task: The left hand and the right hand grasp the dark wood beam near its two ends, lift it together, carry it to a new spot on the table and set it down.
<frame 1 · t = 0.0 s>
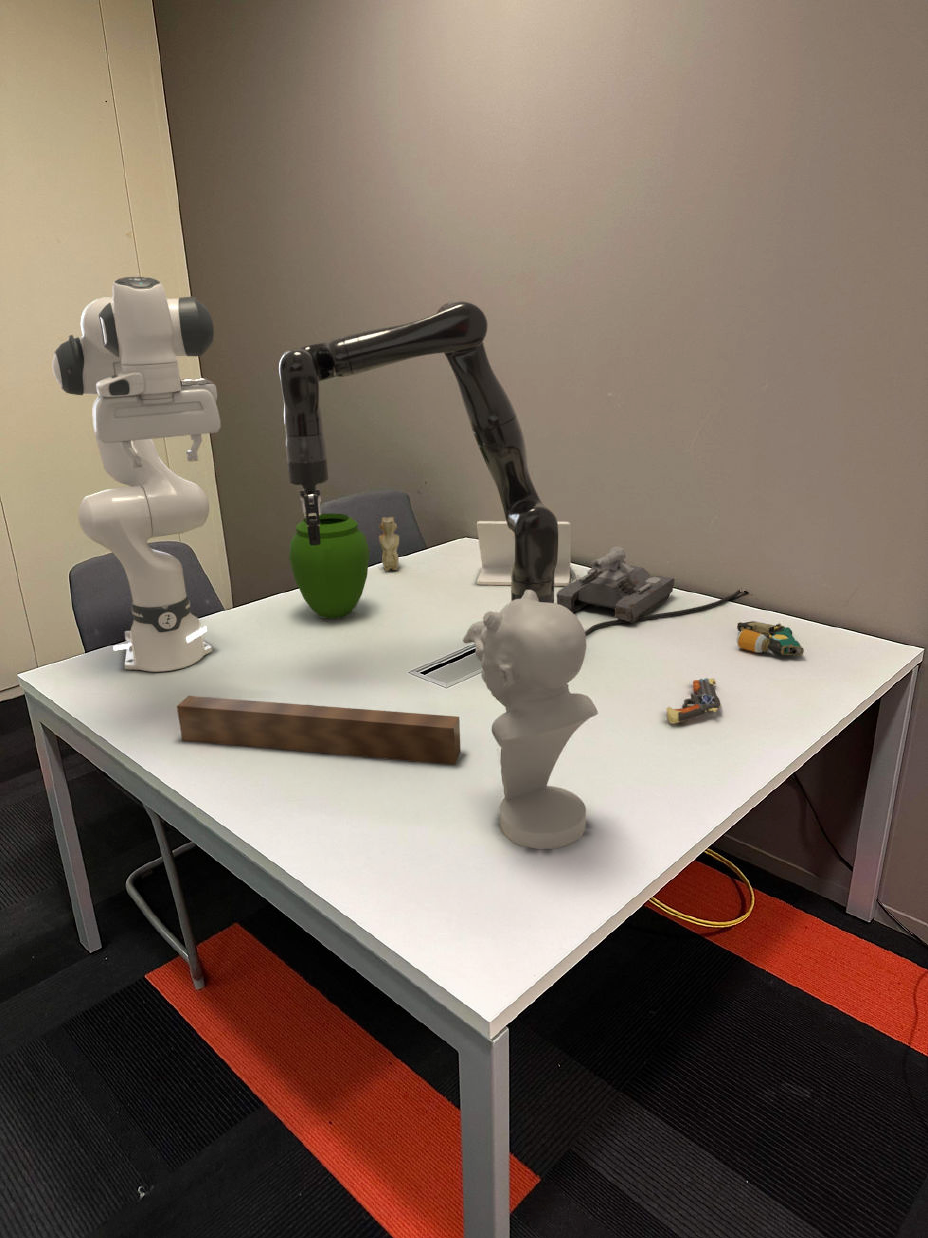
left hand: (165, 463, 147), 48 cm above the table, tool pointing down, fingers open, 8 cm apart
right hand: (314, 539, 170), 29 cm above the table, tool pointing down, fingers open, 8 cm apart
spray gun: (768, 644, 188), on the table
sculpture: (390, 569, 248), on the table
tablet stand: (525, 575, 239), on the table
beam: (318, 746, 151), on the table
bust sculpture: (521, 816, 129), on the table
toy: (615, 605, 214), on the table
vase: (334, 614, 214), on the table
toy gun: (692, 705, 162), on the table
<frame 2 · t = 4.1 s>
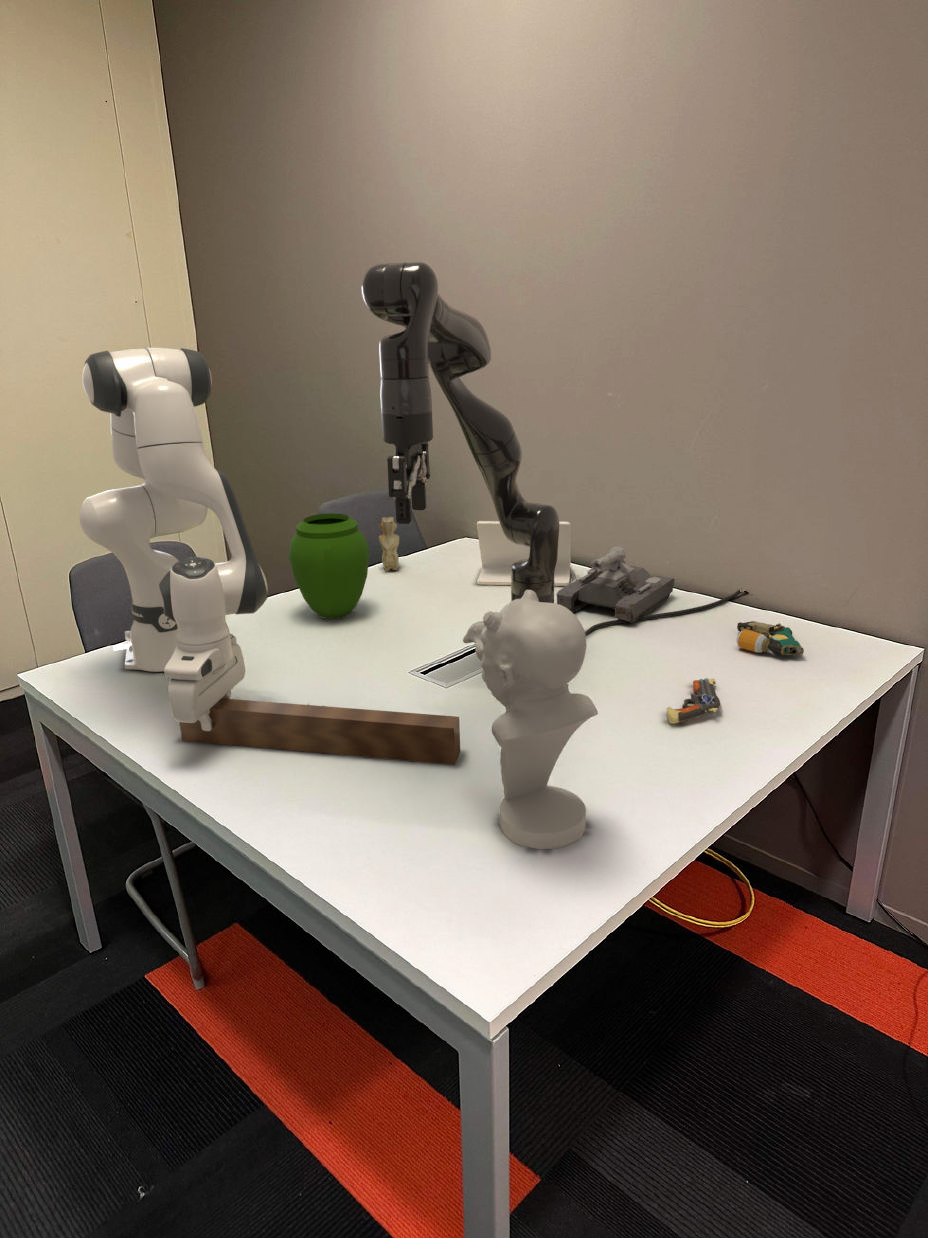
left hand: (216, 722, 154), 3 cm above the table, tool pointing down, fingers closed on beam, 4 cm apart
right hand: (411, 516, 132), 42 cm above the table, tool pointing down, fingers open, 8 cm apart
beam: (318, 746, 151), on the table, touching left hand
everything else where it was.
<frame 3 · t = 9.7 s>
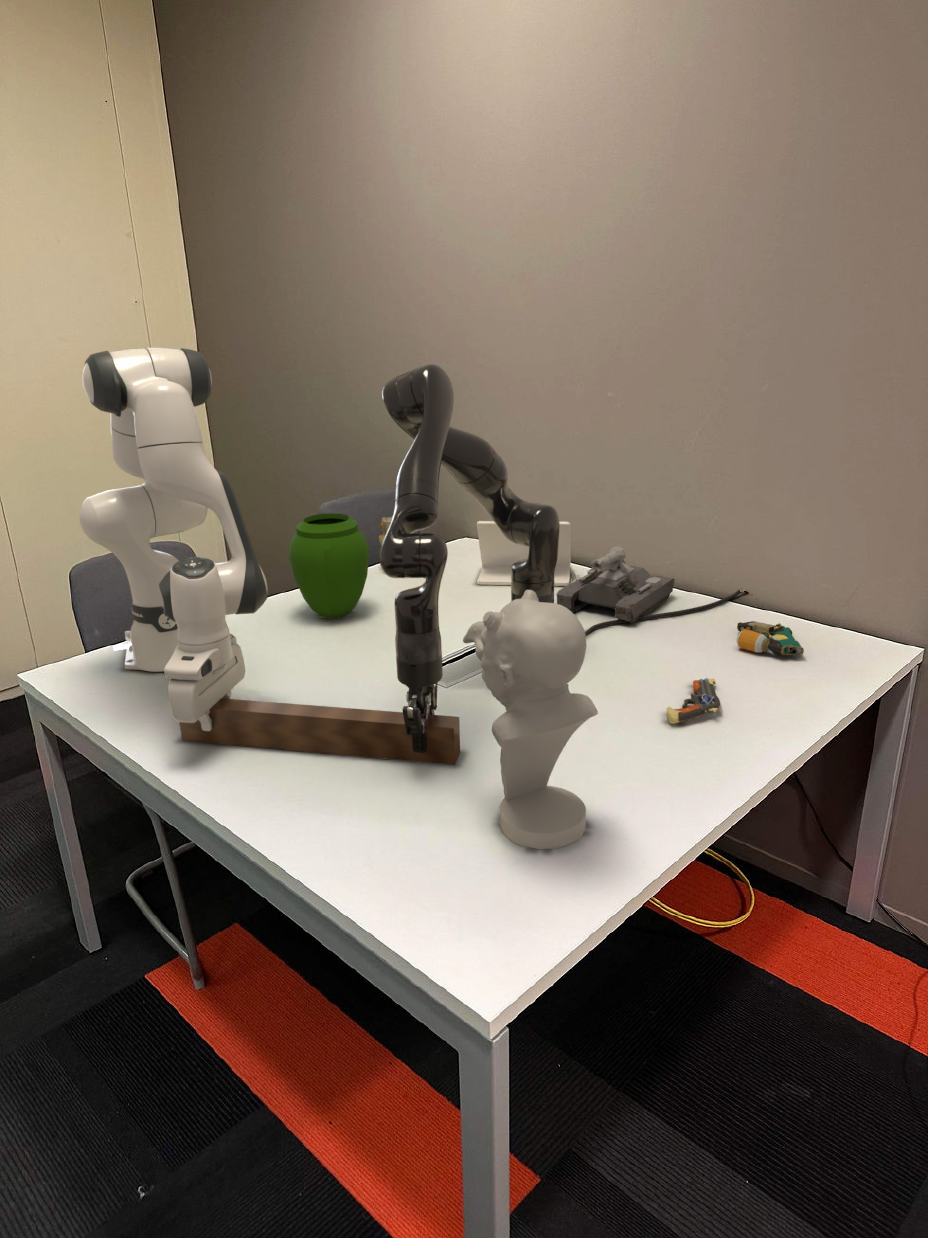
left hand: (216, 722, 154), 3 cm above the table, tool pointing down, fingers closed on beam, 4 cm apart
right hand: (423, 744, 146), 2 cm above the table, tool pointing down, fingers closed on beam, 4 cm apart
beam: (318, 746, 151), on the table, touching right hand, left hand
everything else where it was.
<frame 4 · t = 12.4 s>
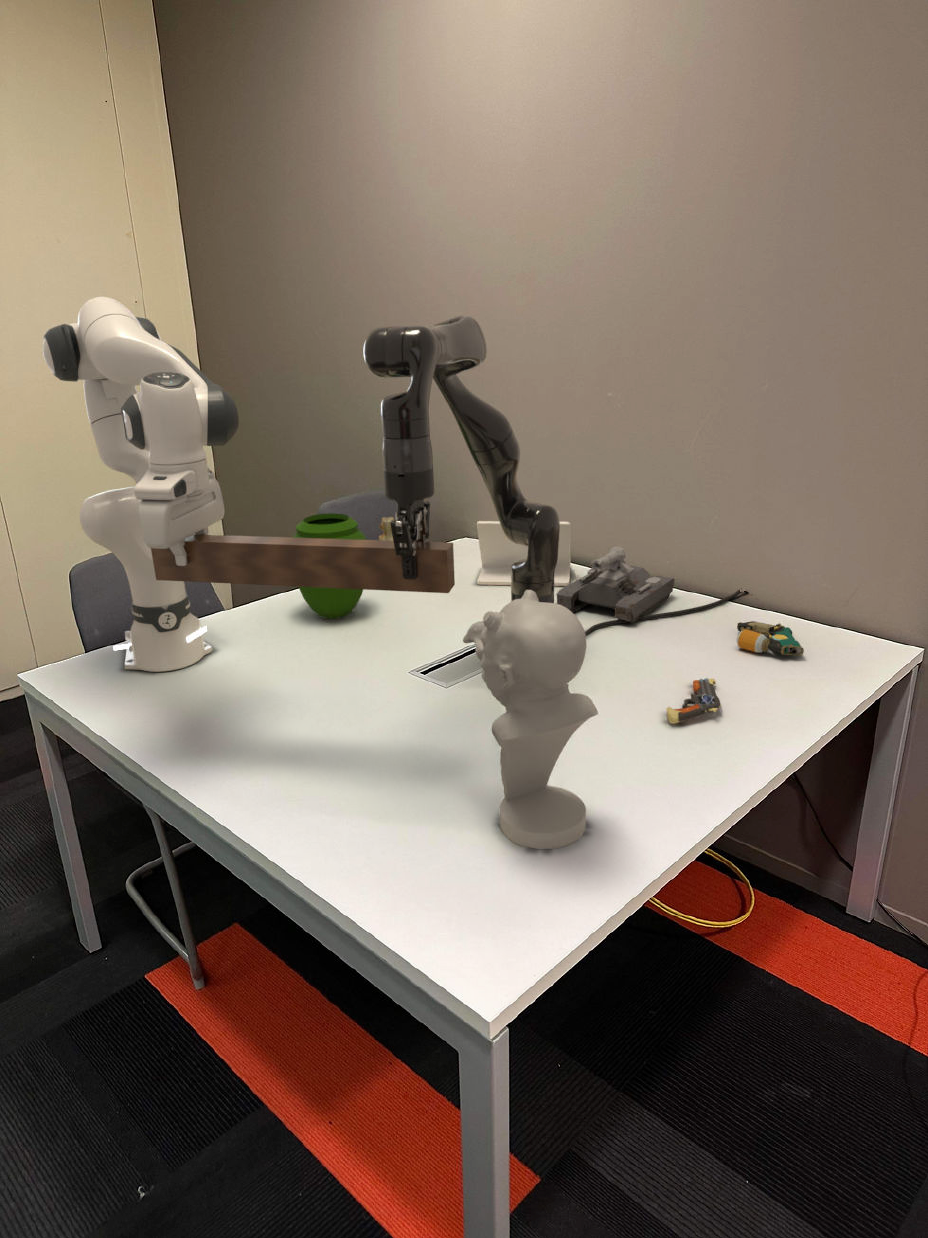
left hand: (192, 559, 143), 34 cm above the table, tool pointing down, fingers closed on beam, 4 cm apart
right hand: (414, 573, 135), 33 cm above the table, tool pointing down, fingers closed on beam, 4 cm apart
beam: (301, 582, 140), point 30 cm above the table, touching right hand, left hand
everything else where it was.
when the left hand's fingers open (5 cm above the table, at t = 20.6 s): beam drops 1 cm, on the table.
when the right hand's fingers open (4 cm above the table, at t = 20.6 s): beam drops 1 cm, on the table.
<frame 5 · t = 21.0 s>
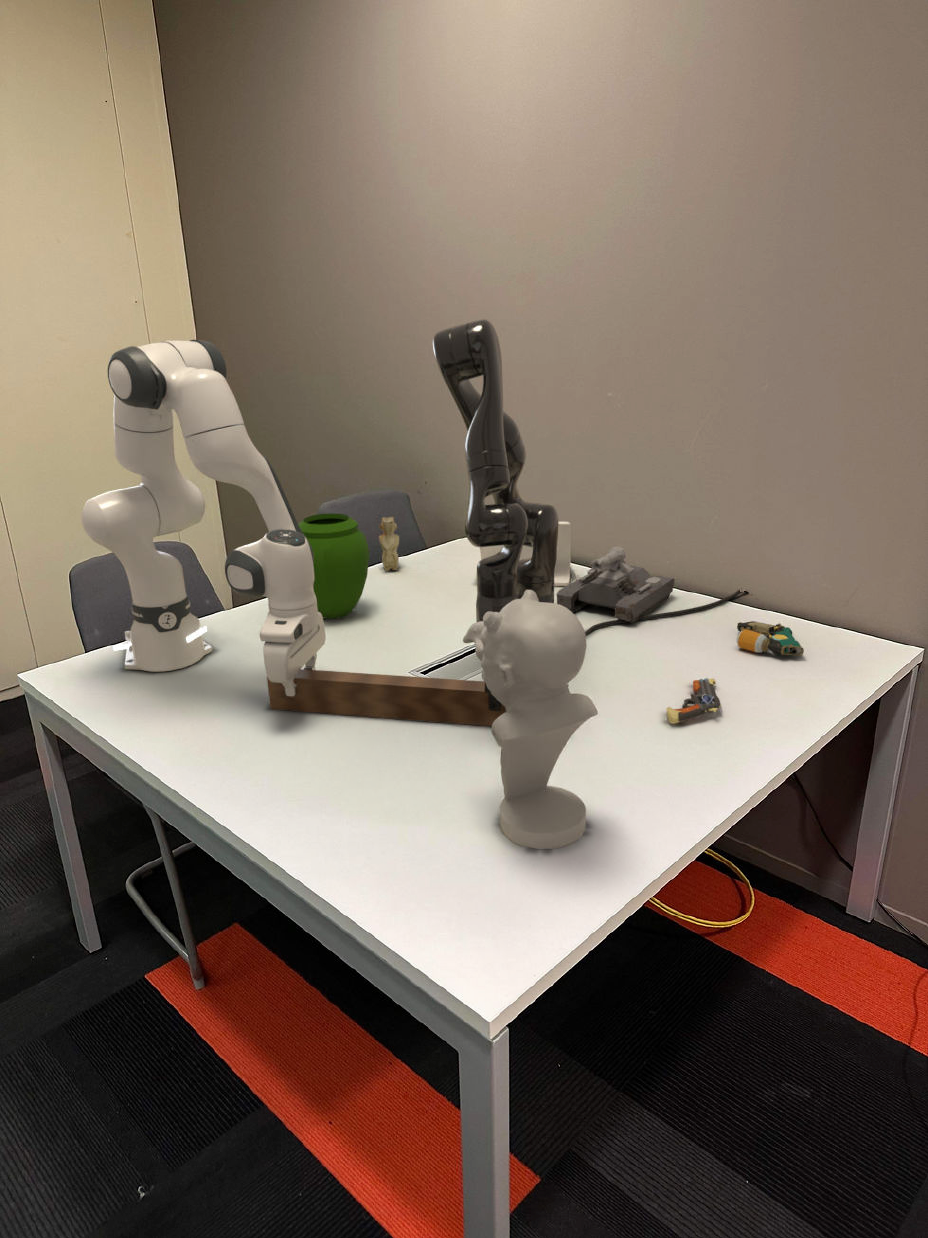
left hand: (301, 684, 164), 5 cm above the table, tool pointing down, fingers open, 8 cm apart
right hand: (498, 700, 156), 4 cm above the table, tool pointing down, fingers open, 7 cm apart
beam: (399, 713, 161), on the table
everything else where it was.
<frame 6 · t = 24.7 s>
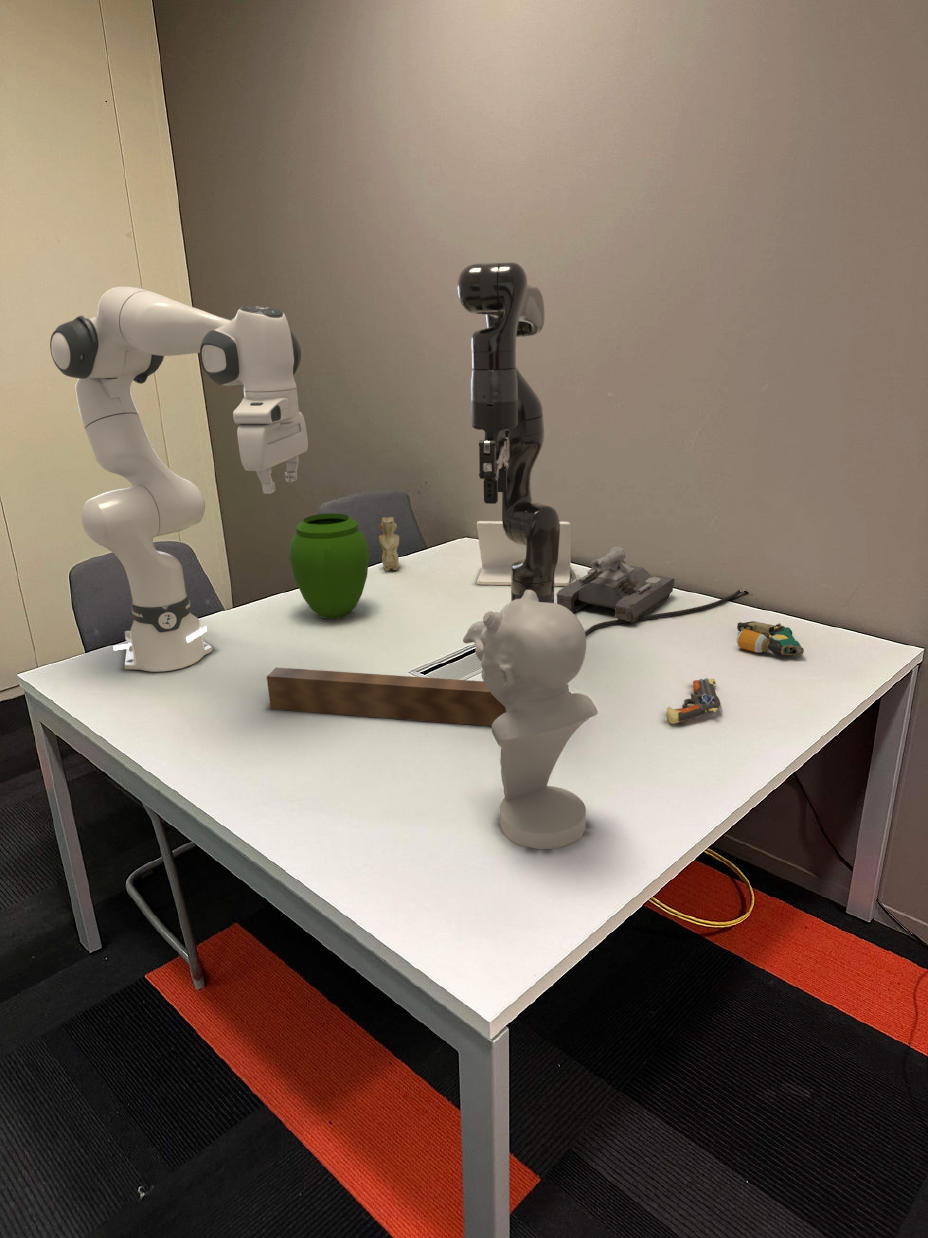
left hand: (280, 487, 150), 43 cm above the table, tool pointing down, fingers open, 8 cm apart
right hand: (495, 497, 142), 42 cm above the table, tool pointing down, fingers open, 8 cm apart
nothing on the table moved.
at the end: beam inside the target area (0.1 cm from its centre), on the table; beam tilted 0°; beam never tilted more than 2° during the clip; both hands held the beam at the same time; the left hand is holding nothing; the right hand is holding nothing; beam at rest at the end (0.0 cm/s) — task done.
